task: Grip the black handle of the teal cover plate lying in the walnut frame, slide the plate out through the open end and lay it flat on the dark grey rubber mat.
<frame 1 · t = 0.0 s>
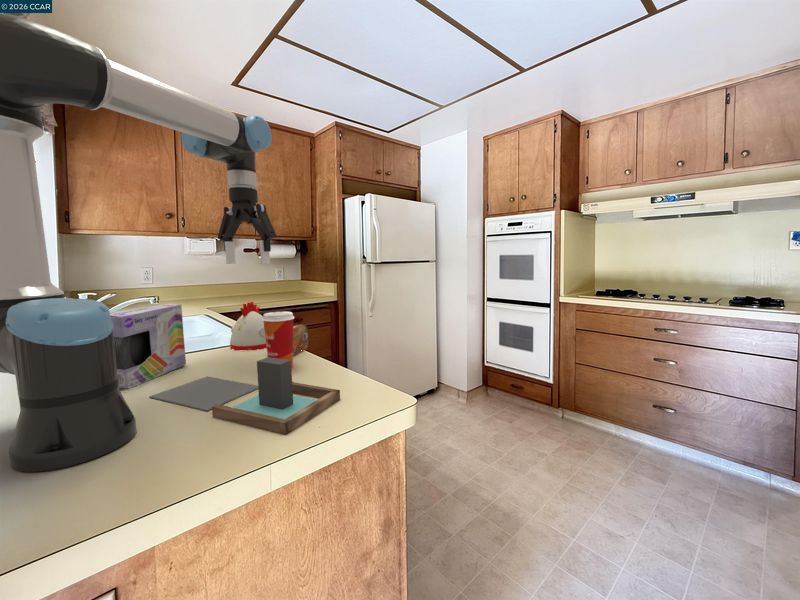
hand: (247, 263, 105), 28 cm above the worktop, tool pointing down, fingers open, 13 cm apart
tin: (295, 353, 113), on the worktop
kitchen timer: (252, 346, 123), on the worktop
cover plate: (276, 408, 72), on the worktop
grey mat: (207, 392, 80), on the worktop
walnut frame: (276, 406, 72), on the worktop
cake pan box: (151, 377, 92), on the worktop
coffee cup: (281, 368, 97), on the worktop
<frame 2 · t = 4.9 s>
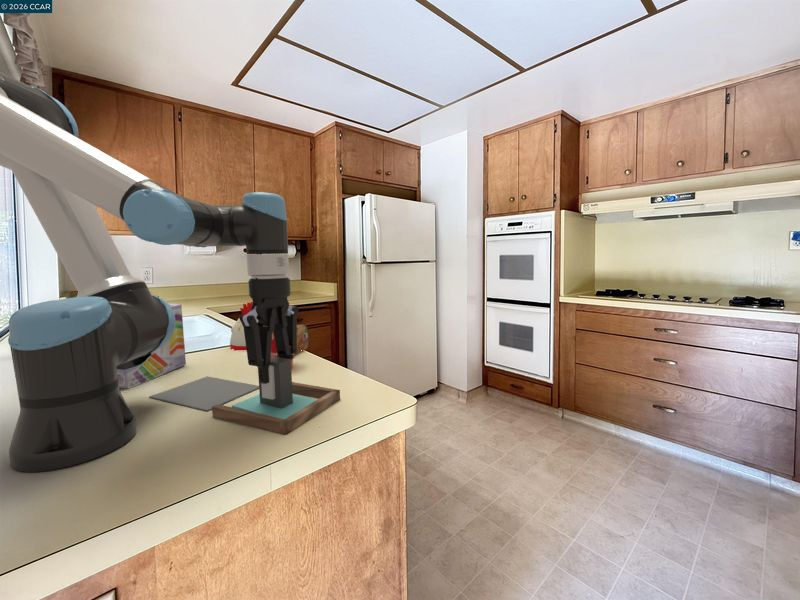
hand: (276, 394, 72), 3 cm above the worktop, tool pointing down, fingers closed on cover plate, 3 cm apart
cover plate: (276, 406, 72), on the worktop, touching gripper
everything else where it was.
when the fingers open (4 cm above the worktop, at t = 10.5 s): cover plate stays where it is, resting on grey mat.
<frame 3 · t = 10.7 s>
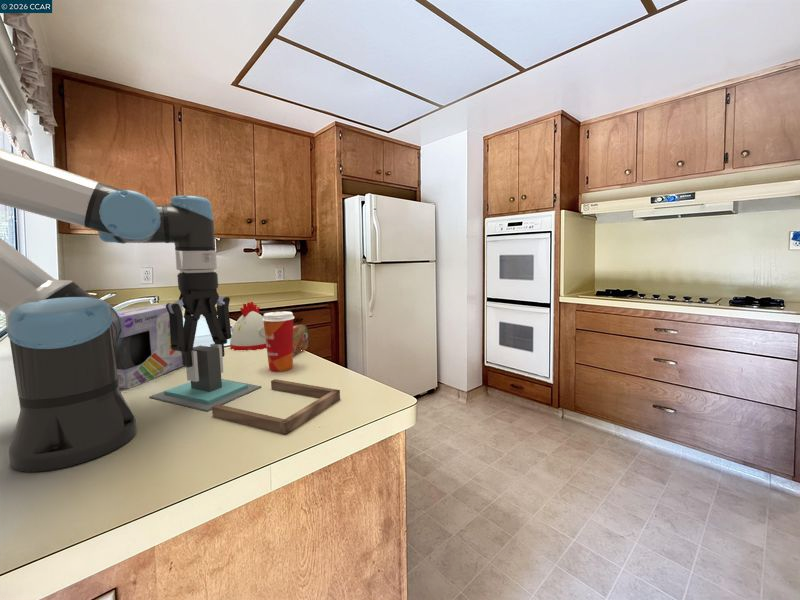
hand: (206, 375, 80), 4 cm above the worktop, tool pointing down, fingers open, 5 cm apart
cover plate: (206, 391, 80), resting on grey mat
everything else where it was.
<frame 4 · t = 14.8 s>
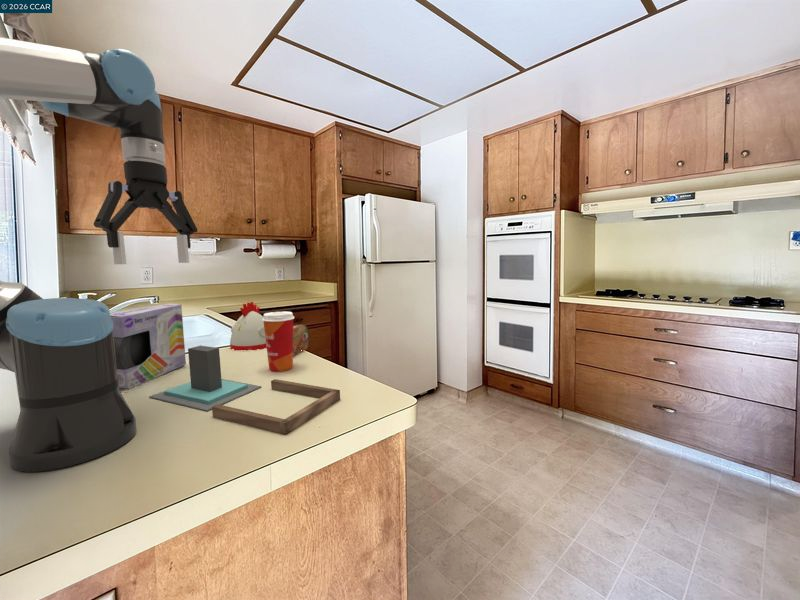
hand: (154, 263, 80), 29 cm above the worktop, tool pointing down, fingers open, 13 cm apart
nothing on the worktop moved.
at the end: cover plate inside the target area on the grey mat (0.0 cm from its centre), point 0.3 cm above the grey mat's base; cover plate tilted 0°; the gripper is holding nothing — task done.
